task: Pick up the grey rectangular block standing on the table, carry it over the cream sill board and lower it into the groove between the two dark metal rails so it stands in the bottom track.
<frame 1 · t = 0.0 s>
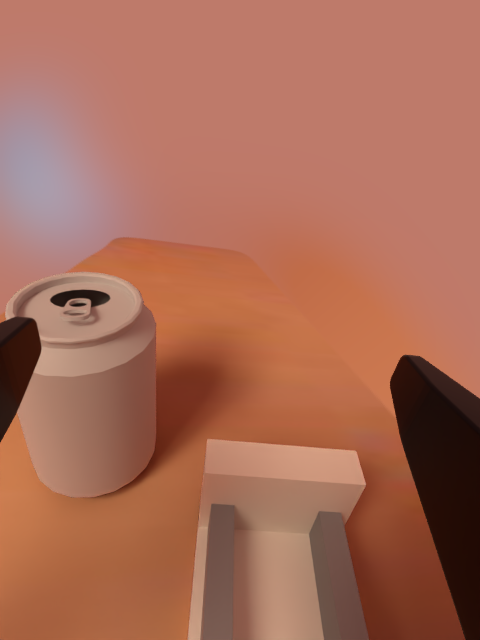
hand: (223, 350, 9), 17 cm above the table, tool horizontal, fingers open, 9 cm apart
can: (98, 453, 26), on the table
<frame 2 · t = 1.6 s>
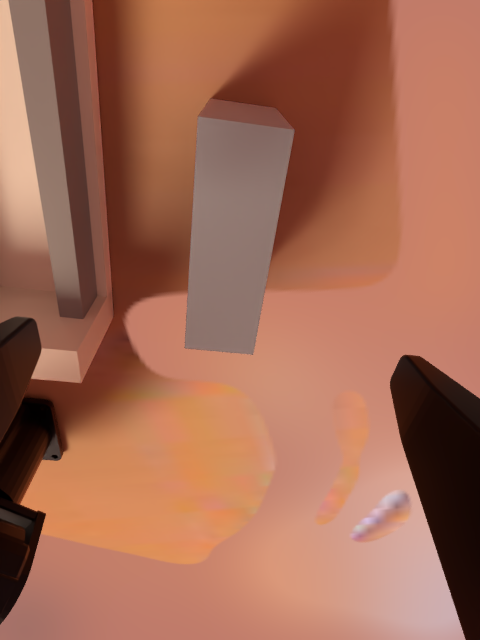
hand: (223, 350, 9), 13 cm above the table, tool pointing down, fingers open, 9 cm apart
track: (15, 131, 18), on the table
grey rectangular block: (232, 200, 20), on the table
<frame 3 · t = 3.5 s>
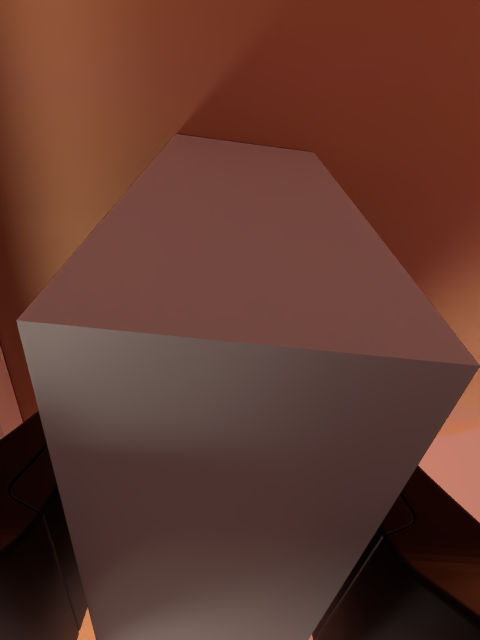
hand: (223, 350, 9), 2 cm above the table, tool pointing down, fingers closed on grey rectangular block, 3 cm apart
grey rectangular block: (224, 316, 11), on the table, touching gripper
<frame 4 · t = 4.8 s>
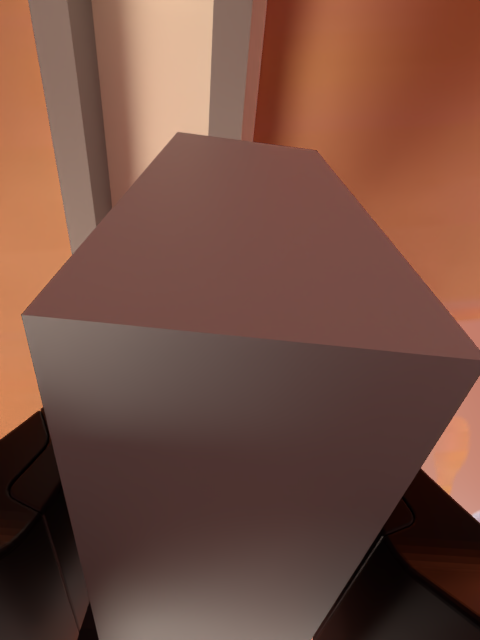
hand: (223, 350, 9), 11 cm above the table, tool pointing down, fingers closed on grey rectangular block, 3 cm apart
track: (163, 183, 18), on the table
grey rectangular block: (226, 314, 11), point 10 cm above the table, touching gripper
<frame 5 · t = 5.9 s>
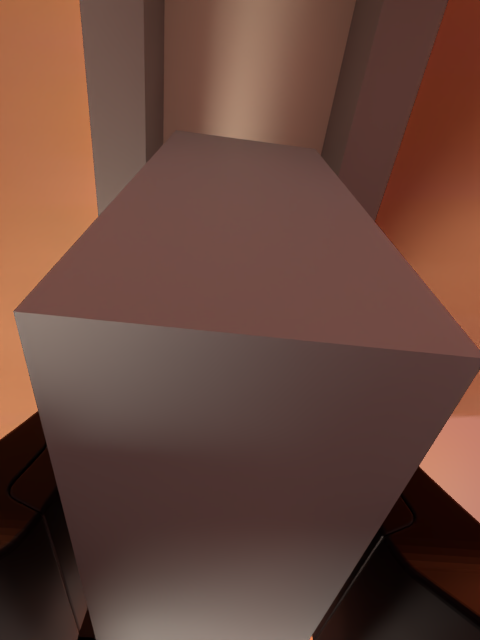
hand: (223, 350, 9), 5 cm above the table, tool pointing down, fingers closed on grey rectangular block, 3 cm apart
track: (229, 254, 14), on the table
grey rectangular block: (225, 314, 11), point 4 cm above the table, touching gripper
when the fingers open (4 cm above the table, at t = 6.4 s): grey rectangular block drops 1 cm, resting on track.
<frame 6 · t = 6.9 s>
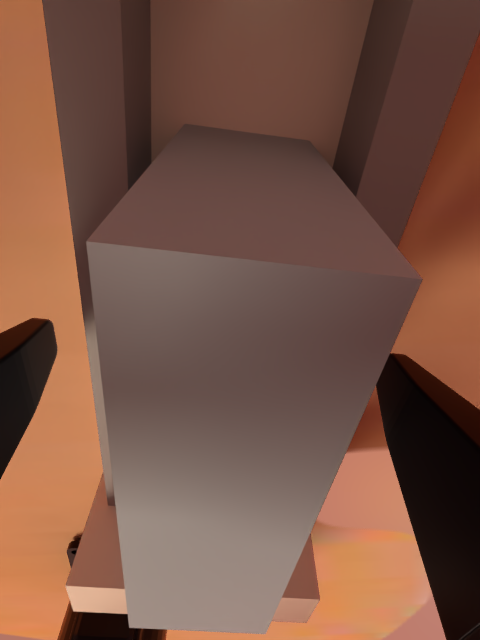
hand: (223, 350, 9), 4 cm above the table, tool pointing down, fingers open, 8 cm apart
track: (227, 278, 13), on the table
grey rectangular block: (228, 293, 12), point 1 cm above the table, touching track
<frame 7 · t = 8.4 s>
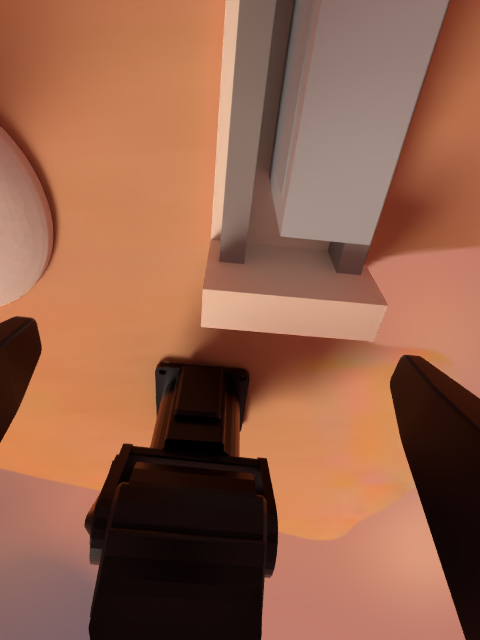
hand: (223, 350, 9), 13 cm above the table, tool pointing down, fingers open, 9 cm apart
track: (315, 66, 17), on the table
grey rectangular block: (320, 67, 16), point 1 cm above the table, touching track
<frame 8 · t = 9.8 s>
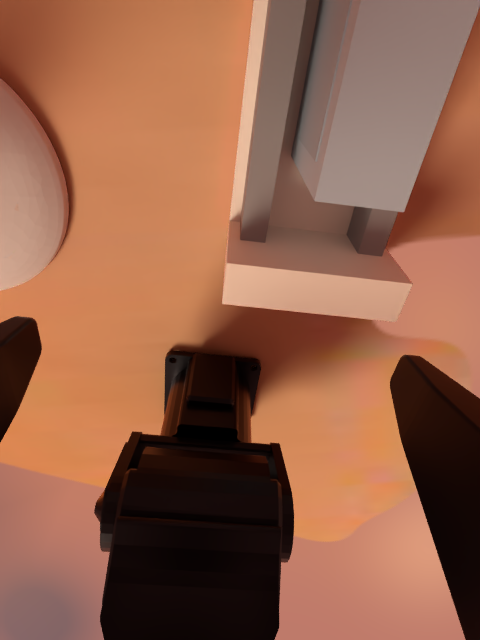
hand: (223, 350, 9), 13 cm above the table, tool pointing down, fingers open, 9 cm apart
track: (341, 45, 17), on the table
grey rectangular block: (348, 44, 16), point 1 cm above the table, touching track
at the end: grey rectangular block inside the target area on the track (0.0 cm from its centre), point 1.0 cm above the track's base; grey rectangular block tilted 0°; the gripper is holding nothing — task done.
